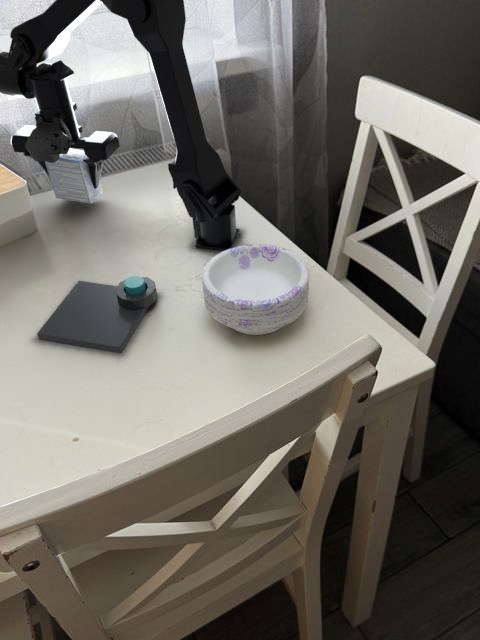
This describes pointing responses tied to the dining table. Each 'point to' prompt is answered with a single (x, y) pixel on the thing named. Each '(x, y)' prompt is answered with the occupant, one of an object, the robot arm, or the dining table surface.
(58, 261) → the dining table surface
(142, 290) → the tare button
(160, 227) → the dining table surface
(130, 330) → the scale
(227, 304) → the paper bowls
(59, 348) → the dining table surface
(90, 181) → the medicine box
